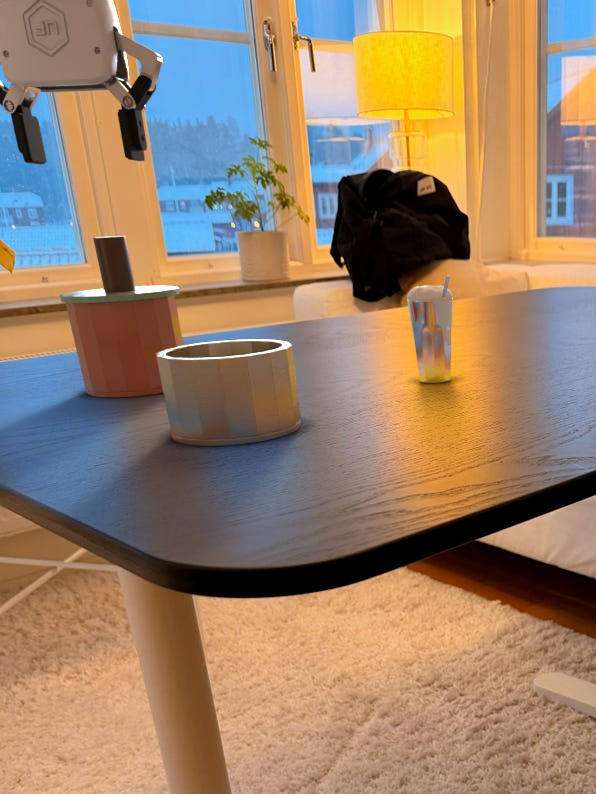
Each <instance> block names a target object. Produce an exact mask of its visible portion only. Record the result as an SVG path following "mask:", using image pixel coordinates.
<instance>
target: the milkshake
mask: <svg viewBox="0 0 596 794" xmlns="http://www.w3.org/2000/svg"><path fill="white" fill-rule="evenodd" d="M450 278H451V276H450V275H446V276H445V280H444V285H429V284H428V285H427V284H423V285H416V286H413V288H411V289H410V290H409V291H408V293H407V295H406V300H407V301H406V302H407V306H408V312H409V319H410V325H411V328H412V334H413V342H414V349H415V356H416V362H417V370H418V371H417V372H418V377H419V378H418V379H419V382H420V383H425V384H437V383H438V384H439V383H445V382H449V381H451V380H452V379H451V377H452V327H453V310H454V309H453V308H454V307H453V306H454V294H453V292H452V291H451V290H450V289H449V283H450Z"/></svg>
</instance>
